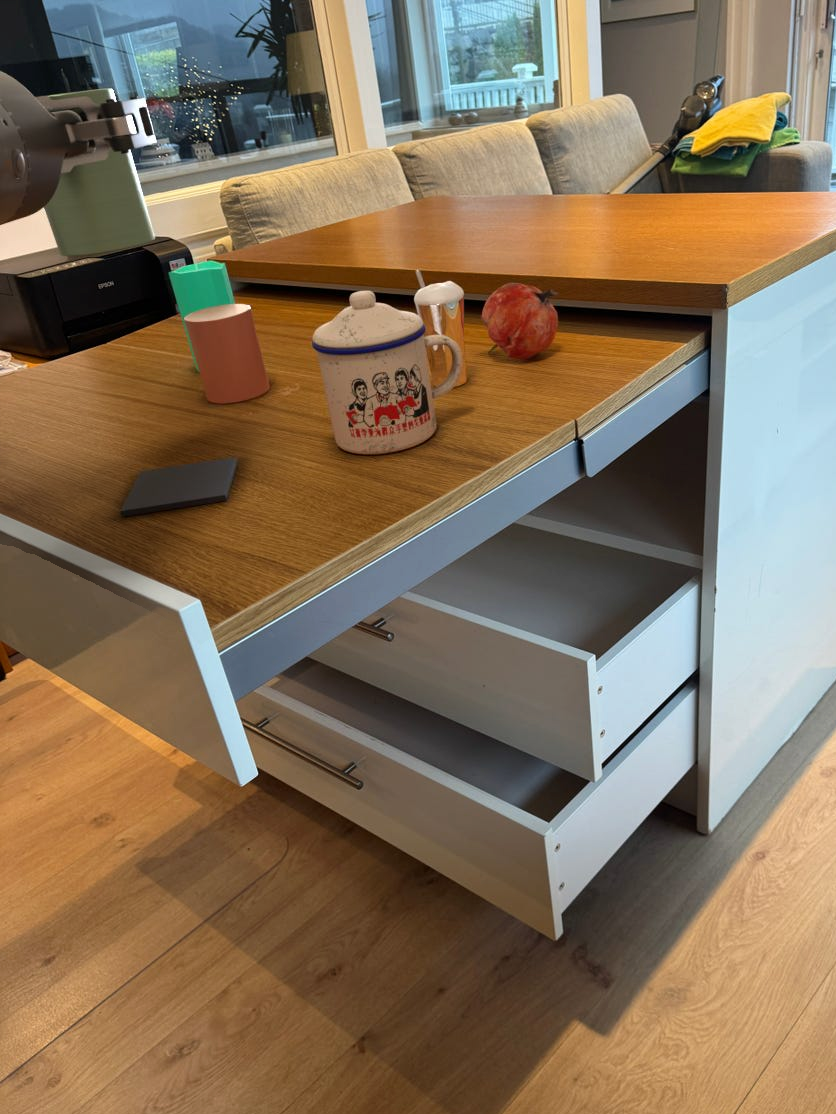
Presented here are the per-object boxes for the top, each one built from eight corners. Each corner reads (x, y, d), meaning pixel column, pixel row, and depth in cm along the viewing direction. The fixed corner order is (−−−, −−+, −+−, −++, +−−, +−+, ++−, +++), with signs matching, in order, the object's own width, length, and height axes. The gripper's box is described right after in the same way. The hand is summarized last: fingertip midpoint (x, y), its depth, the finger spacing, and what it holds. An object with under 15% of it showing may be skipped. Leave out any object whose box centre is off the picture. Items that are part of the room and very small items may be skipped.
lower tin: (203, 407, 89) (179, 325, 84) (211, 388, 94) (189, 309, 90) (267, 398, 89) (246, 315, 84) (272, 379, 94) (252, 300, 90)
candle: (212, 376, 98) (179, 259, 91) (187, 368, 102) (153, 256, 95) (259, 360, 101) (230, 247, 94) (233, 353, 105) (204, 244, 98)
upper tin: (48, 261, 59) (-7, 103, 54) (74, 245, 64) (25, 100, 60) (145, 247, 59) (99, 88, 54) (163, 233, 65) (121, 87, 60)
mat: (121, 517, 68) (119, 511, 67) (141, 476, 74) (140, 471, 74) (226, 500, 68) (225, 494, 68) (237, 462, 75) (236, 456, 74)
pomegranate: (483, 389, 91) (544, 332, 83) (447, 325, 90) (505, 263, 83) (528, 374, 95) (590, 320, 88) (494, 314, 95) (553, 254, 88)
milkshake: (451, 371, 89) (437, 264, 84) (483, 380, 86) (470, 270, 80) (413, 383, 87) (396, 275, 82) (444, 394, 84) (428, 281, 78)
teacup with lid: (348, 466, 71) (316, 315, 65) (322, 432, 78) (292, 294, 72) (487, 431, 74) (471, 284, 68) (451, 402, 81) (433, 266, 75)
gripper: (55, 45, 43) (172, 46, 57) (-215, 85, 45) (-37, 77, 59) (108, 214, 47) (205, 177, 61) (-141, 245, 49) (8, 202, 63)
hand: (86, 128), depth 60 cm, fingers closed on upper tin, 6 cm apart
